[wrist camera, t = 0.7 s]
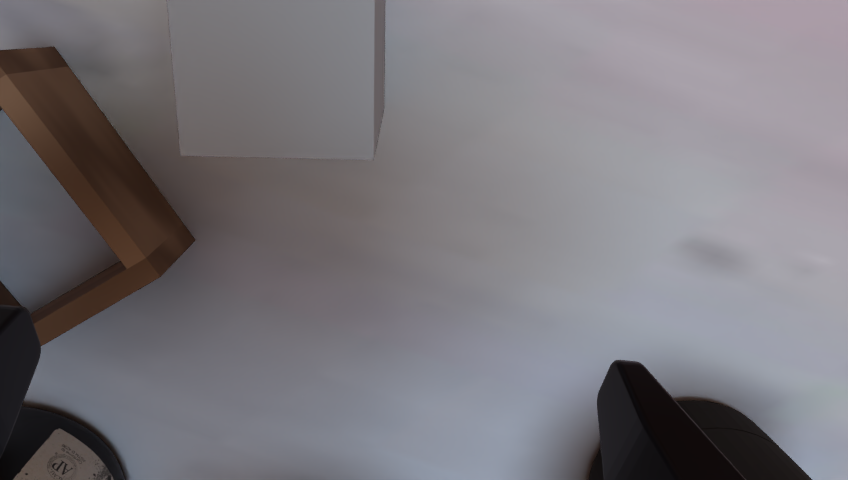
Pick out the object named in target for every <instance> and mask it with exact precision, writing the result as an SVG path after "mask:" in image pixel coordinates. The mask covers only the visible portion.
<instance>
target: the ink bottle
mask: <svg viewBox="0 0 848 480" xmlns="http://www.w3.org/2000/svg"><path fill="white" fill-rule="evenodd" d="M0 480H125V478H124V475H123V472H122V469H121V467H120V465H119V463H118V461H117V459H116V457H115V456H114V454H113V453H112V451H111V450H110V449H109V447H108V446H107V445H106V444H105V443H104V442H103V441H102V440H101V439H100V438H99V437H98V436H97V435H95V434H94V433H93V432H92V431H90V430H89V429H87V428H86V427H84V426H82V425H81V424H79V423H77V422H75V421H73V420H71V419H69V418H66V417H64V416H61V415H58V414H55V413H52V412H49V411H45V410H41V409H36V408H30V407H21V409H20V411H19V414H18V417H17V419H16V422H15V424H14V427H13V430H12V432H11V435H10V437H9V440H8V442H7V445H6V447H5V450H4V452H3V454H2V456H1V458H0Z"/></svg>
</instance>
